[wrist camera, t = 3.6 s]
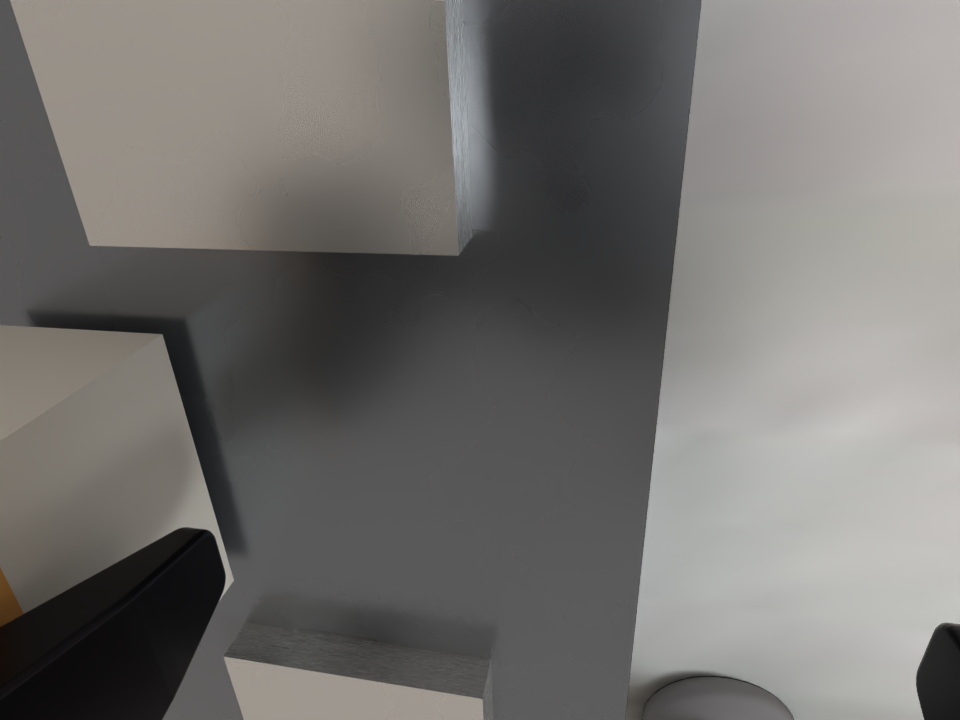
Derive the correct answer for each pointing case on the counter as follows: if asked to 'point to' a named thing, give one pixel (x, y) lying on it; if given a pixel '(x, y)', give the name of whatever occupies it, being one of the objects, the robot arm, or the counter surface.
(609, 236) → the panel
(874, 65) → the counter surface
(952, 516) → the counter surface
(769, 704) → the post
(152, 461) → the slider
